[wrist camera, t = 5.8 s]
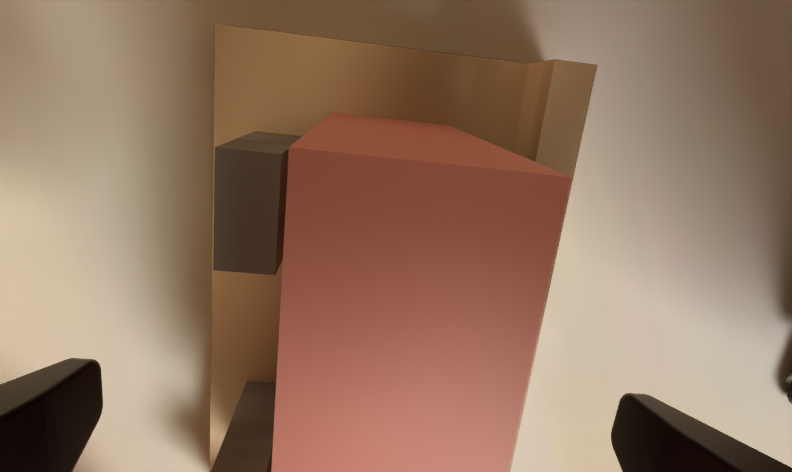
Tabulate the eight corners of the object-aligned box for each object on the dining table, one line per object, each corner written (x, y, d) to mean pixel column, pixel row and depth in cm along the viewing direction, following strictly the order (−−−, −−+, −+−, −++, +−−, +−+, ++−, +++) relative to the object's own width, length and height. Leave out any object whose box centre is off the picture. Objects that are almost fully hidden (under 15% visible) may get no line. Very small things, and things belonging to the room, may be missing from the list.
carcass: (548, 70, 11) (641, 60, 8) (468, 493, 15) (505, 635, 11) (227, 29, 11) (154, -4, 7) (219, 482, 14) (166, 630, 10)
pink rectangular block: (332, 112, 10) (288, 146, 4) (449, 125, 11) (572, 177, 4) (305, 466, 13) (252, 818, 7) (400, 471, 13) (435, 815, 7)
